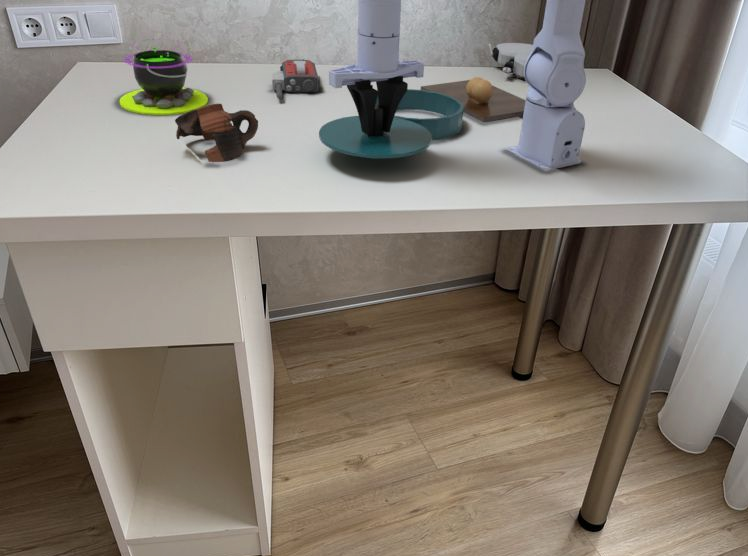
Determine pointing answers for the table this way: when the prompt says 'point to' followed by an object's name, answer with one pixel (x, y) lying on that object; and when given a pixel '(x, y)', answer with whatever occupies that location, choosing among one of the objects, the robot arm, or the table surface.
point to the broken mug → (218, 130)
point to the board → (495, 109)
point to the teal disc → (375, 137)
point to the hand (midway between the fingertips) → (375, 131)
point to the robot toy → (512, 57)
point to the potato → (479, 90)
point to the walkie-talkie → (296, 77)
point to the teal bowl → (436, 104)
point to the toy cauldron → (161, 84)
